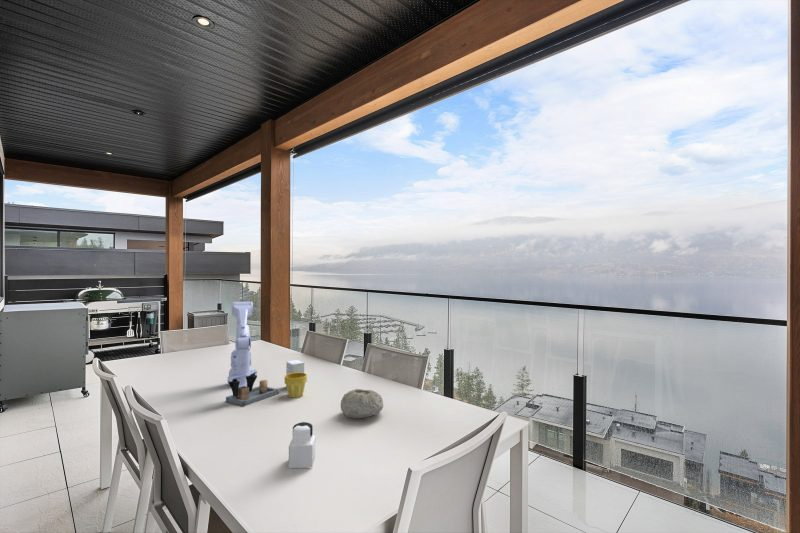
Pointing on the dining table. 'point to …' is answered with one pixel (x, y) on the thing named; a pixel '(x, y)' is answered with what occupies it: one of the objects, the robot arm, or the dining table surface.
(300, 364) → the small box
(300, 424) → the white boxy piece
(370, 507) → the dining table surface
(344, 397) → the round stone vase
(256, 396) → the parts tray
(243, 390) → the walnut block
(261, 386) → the oak peg
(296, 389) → the plant pot
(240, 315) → the robot arm
